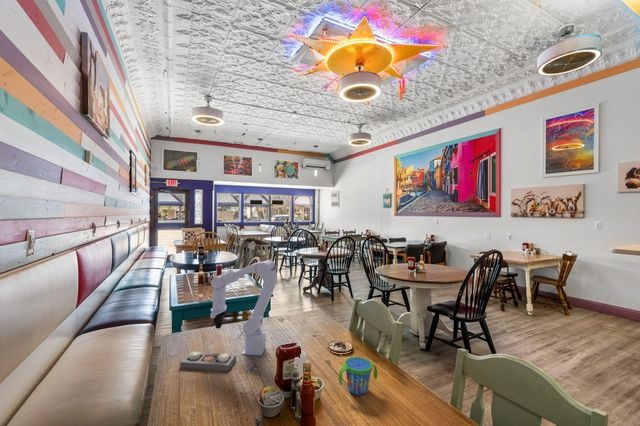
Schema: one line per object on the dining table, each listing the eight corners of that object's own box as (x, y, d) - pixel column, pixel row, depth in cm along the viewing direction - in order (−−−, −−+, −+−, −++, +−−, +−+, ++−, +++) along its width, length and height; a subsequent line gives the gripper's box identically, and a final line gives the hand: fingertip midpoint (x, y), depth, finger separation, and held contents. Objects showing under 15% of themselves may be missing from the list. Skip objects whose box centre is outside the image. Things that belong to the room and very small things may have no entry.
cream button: (230, 358, 128) (230, 353, 128) (226, 363, 124) (226, 358, 124) (220, 358, 129) (220, 353, 129) (216, 363, 124) (216, 358, 124)
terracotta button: (215, 361, 129) (216, 356, 129) (211, 366, 125) (211, 361, 125) (206, 360, 129) (206, 355, 129) (201, 365, 125) (201, 360, 125)
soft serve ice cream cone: (289, 394, 107) (290, 350, 107) (281, 382, 115) (282, 341, 115) (309, 388, 111) (310, 346, 111) (301, 377, 118) (301, 338, 118)
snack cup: (371, 380, 118) (372, 354, 118) (382, 396, 108) (383, 368, 108) (334, 384, 114) (334, 358, 114) (342, 401, 104) (343, 372, 104)
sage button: (201, 356, 130) (202, 351, 130) (196, 361, 125) (197, 356, 125) (192, 356, 130) (192, 351, 130) (187, 361, 125) (187, 356, 125)
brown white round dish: (357, 345, 150) (357, 337, 150) (353, 359, 135) (353, 350, 135) (328, 341, 153) (329, 333, 153) (322, 355, 139) (322, 346, 139)
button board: (236, 360, 131) (236, 354, 131) (228, 371, 122) (228, 365, 122) (191, 357, 132) (191, 352, 132) (180, 367, 123) (180, 362, 123)
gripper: (217, 295, 151) (216, 322, 151) (204, 304, 136) (203, 333, 136) (230, 296, 150) (230, 322, 150) (218, 305, 136) (218, 334, 136)
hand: (218, 327), depth 143 cm, fingers closed
